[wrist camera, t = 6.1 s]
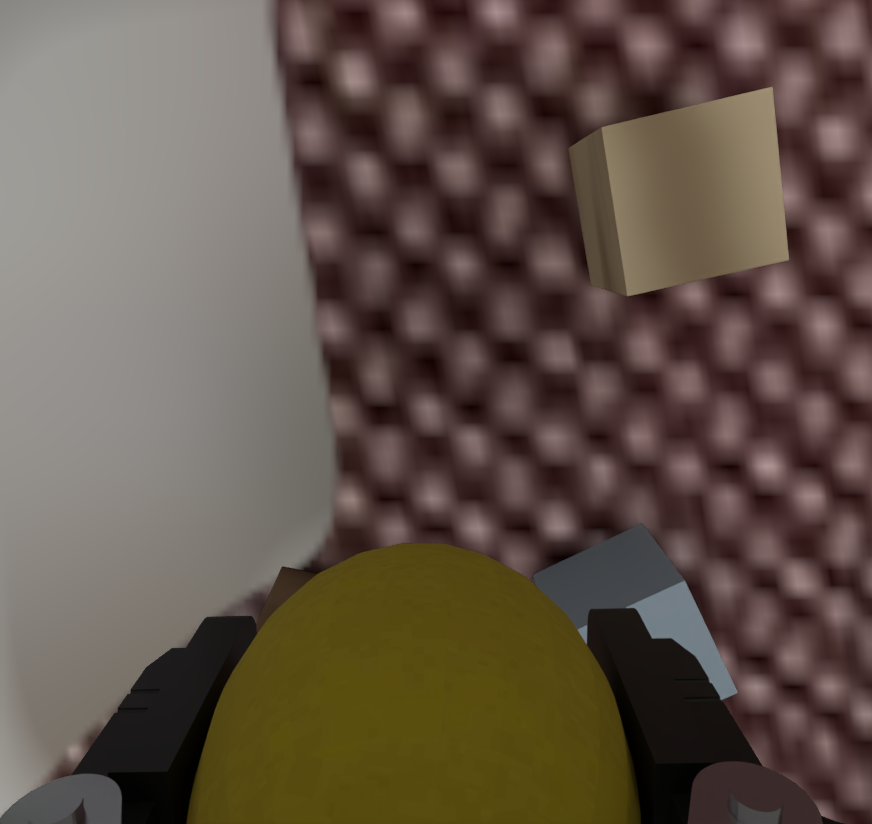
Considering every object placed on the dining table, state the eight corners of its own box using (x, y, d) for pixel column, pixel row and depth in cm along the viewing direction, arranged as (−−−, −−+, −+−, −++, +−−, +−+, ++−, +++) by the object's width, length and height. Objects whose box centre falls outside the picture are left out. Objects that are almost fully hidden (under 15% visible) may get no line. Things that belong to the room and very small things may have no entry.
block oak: (705, 116, 25) (772, 87, 20) (721, 255, 26) (788, 259, 21) (567, 148, 25) (601, 126, 20) (590, 285, 26) (627, 296, 21)
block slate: (641, 522, 29) (684, 580, 24) (687, 618, 30) (738, 692, 25) (532, 573, 29) (553, 640, 24) (581, 666, 30) (610, 748, 25)
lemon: (276, 728, 14) (59, 1366, 6) (282, 462, 12) (11, 836, 5) (555, 747, 14) (699, 1404, 6) (589, 485, 12) (836, 891, 5)
